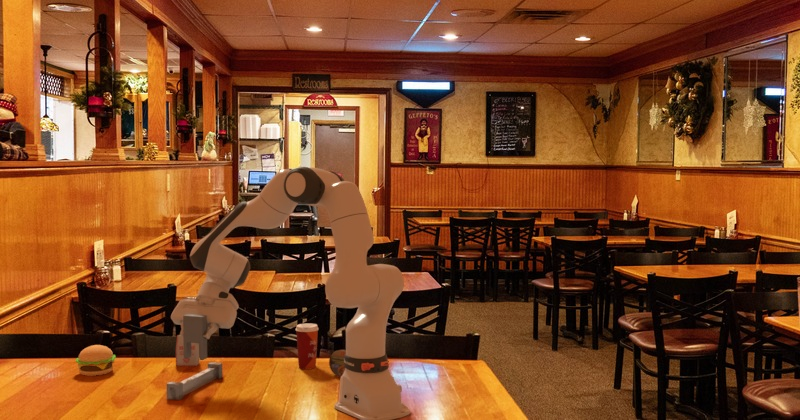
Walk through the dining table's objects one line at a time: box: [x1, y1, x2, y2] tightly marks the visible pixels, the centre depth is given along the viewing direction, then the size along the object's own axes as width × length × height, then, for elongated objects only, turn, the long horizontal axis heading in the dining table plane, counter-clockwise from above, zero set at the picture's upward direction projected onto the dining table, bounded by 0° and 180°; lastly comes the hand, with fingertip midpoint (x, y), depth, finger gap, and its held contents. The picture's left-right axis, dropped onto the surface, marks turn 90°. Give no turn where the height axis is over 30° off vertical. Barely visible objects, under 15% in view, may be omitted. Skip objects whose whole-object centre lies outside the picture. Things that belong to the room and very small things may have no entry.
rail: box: [166, 361, 223, 401], centre depth 223 cm, size 24×4×4 cm, turn 163°
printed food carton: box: [175, 334, 200, 367], centre depth 249 cm, size 4×7×10 cm, turn 88°
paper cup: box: [294, 322, 319, 370], centre depth 246 cm, size 8×8×14 cm
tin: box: [328, 349, 346, 378], centre depth 235 cm, size 15×3×8 cm, turn 62°
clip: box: [183, 314, 208, 361], centre depth 223 cm, size 6×3×13 cm, turn 73°
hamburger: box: [75, 344, 117, 377], centre depth 239 cm, size 12×12×9 cm
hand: (194, 337), depth 222 cm, fingers closed on clip, 6 cm apart
